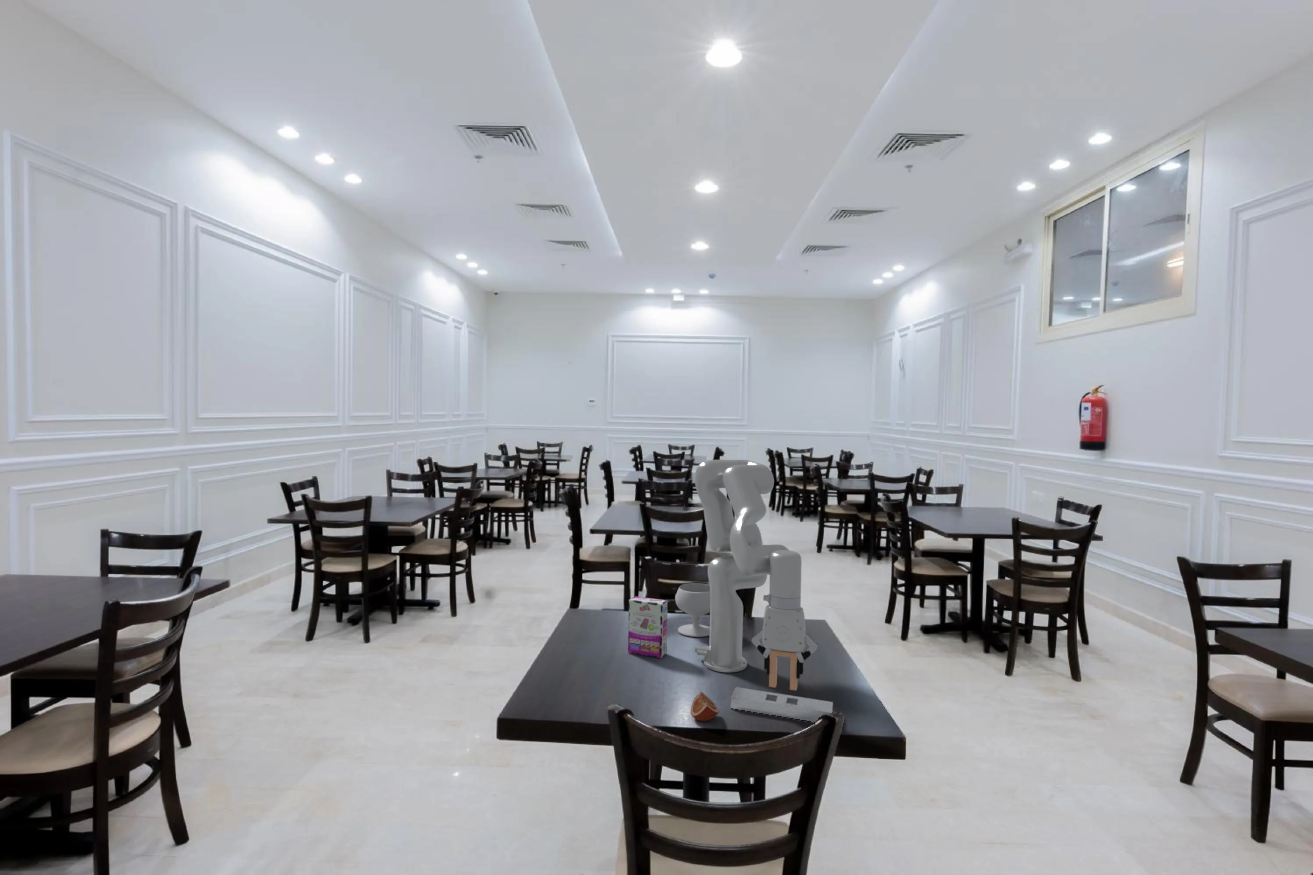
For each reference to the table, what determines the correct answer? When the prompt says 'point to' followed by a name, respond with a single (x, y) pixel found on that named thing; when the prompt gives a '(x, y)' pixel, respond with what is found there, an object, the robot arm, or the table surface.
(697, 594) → the chalice
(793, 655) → the orange u-shaped block
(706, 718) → the fruit slice
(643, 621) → the candy bar box
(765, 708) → the rail
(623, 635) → the table surface
